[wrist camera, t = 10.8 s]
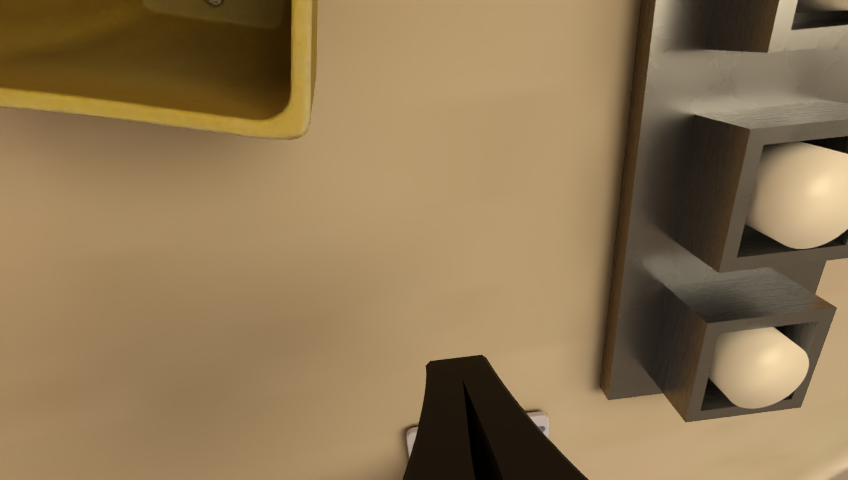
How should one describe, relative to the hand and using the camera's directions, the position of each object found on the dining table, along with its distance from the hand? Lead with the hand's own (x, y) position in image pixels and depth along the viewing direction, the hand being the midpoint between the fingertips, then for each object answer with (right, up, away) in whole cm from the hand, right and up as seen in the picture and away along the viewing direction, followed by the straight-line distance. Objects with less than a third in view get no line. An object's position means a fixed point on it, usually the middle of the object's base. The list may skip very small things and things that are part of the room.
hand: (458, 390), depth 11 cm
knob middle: (+13, +6, +9) cm, 17 cm away
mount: (+13, +7, +10) cm, 17 cm away
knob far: (+14, -1, +12) cm, 18 cm away
